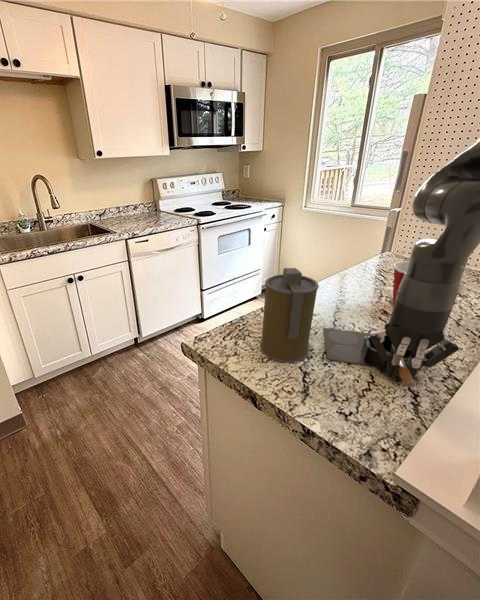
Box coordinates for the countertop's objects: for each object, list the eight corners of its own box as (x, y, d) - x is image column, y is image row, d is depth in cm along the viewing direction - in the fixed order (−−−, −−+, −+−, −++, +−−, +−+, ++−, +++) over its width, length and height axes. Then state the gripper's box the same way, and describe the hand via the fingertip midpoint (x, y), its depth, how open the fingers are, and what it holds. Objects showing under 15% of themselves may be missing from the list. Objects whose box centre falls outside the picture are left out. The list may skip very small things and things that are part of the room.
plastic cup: (433, 321, 79) (449, 277, 73) (381, 312, 85) (392, 271, 80) (431, 304, 86) (445, 263, 81) (383, 297, 92) (393, 258, 87)
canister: (256, 337, 79) (262, 264, 71) (300, 337, 77) (311, 262, 69) (264, 363, 70) (272, 282, 61) (314, 364, 68) (329, 280, 59)
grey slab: (399, 337, 74) (400, 336, 74) (417, 373, 63) (417, 372, 62) (323, 328, 80) (323, 327, 80) (327, 359, 69) (327, 358, 69)
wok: (411, 350, 69) (416, 335, 67) (439, 405, 55) (446, 387, 53) (359, 343, 73) (363, 329, 71) (373, 393, 59) (378, 376, 57)
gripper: (380, 305, 53) (359, 383, 61) (487, 314, 48) (450, 399, 55) (372, 288, 60) (354, 361, 67) (466, 295, 54) (435, 374, 61)
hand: (398, 378), depth 61 cm, fingers closed on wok
